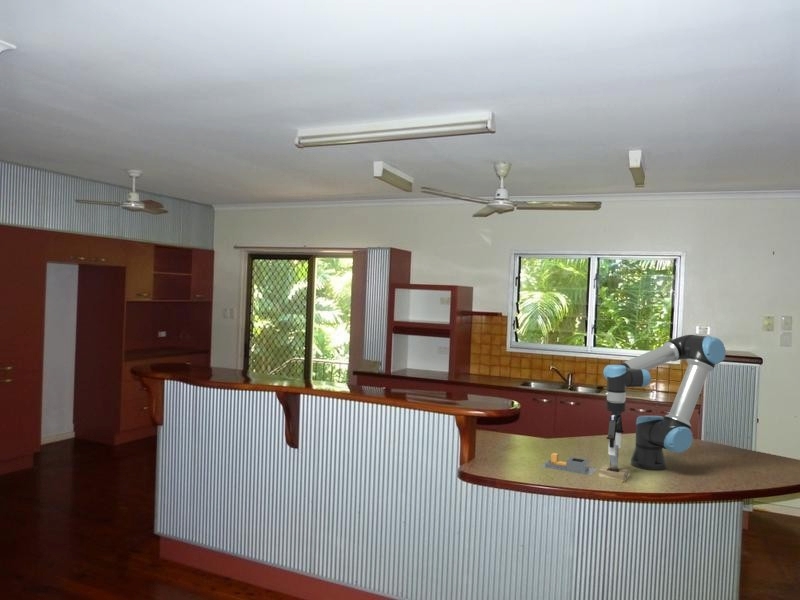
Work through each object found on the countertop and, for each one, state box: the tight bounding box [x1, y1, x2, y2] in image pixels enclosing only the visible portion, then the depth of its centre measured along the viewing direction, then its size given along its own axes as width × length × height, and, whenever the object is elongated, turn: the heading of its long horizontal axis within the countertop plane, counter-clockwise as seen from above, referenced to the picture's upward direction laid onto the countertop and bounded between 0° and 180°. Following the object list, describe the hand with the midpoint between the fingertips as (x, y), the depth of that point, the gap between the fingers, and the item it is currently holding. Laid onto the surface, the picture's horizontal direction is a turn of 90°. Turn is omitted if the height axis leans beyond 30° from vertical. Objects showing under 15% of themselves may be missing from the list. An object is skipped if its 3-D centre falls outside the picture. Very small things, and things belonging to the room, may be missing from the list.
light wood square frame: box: [598, 465, 629, 484], centre depth 262 cm, size 10×10×4 cm
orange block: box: [550, 452, 566, 466], centre depth 273 cm, size 3×8×5 cm, turn 61°
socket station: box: [539, 456, 597, 476], centre depth 271 cm, size 12×22×5 cm, turn 61°
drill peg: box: [609, 445, 619, 472], centre depth 262 cm, size 3×3×14 cm
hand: (614, 451), depth 262 cm, fingers open, 13 cm apart
